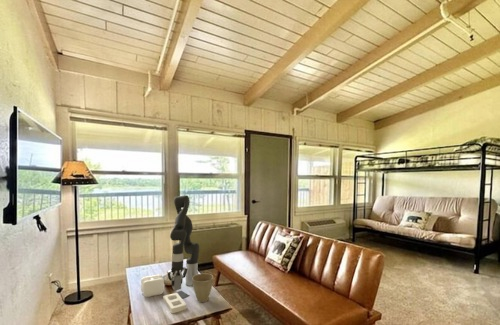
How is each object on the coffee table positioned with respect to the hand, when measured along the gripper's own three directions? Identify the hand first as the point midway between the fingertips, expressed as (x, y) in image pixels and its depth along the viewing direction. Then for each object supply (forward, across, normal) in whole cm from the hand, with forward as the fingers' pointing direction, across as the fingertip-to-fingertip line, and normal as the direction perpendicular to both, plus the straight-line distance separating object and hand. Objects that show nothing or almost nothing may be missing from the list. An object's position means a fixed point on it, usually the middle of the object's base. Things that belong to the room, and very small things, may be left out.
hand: (176, 284), depth 172 cm
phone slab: (+16, -9, -16) cm, 24 cm away
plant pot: (+15, -19, 0) cm, 25 cm away
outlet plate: (+15, 0, -4) cm, 16 cm away
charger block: (+2, 0, 0) cm, 2 cm away
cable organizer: (+15, +9, -29) cm, 34 cm away
